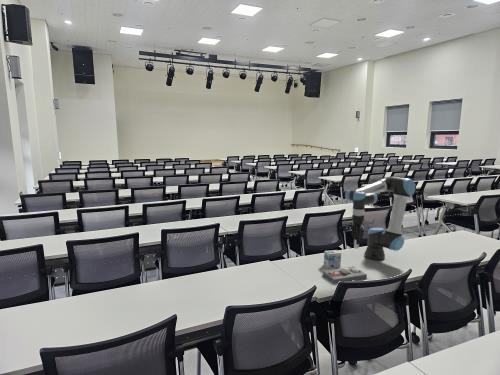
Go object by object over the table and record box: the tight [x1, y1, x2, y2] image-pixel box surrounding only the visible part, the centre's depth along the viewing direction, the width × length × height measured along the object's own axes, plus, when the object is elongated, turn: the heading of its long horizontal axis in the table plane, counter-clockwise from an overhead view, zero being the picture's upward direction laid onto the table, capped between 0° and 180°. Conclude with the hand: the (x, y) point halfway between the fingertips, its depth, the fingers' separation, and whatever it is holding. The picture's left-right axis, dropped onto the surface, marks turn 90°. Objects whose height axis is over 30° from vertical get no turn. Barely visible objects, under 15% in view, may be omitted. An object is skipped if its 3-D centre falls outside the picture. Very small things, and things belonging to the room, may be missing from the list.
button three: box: [330, 271, 338, 277], centre depth 218 cm, size 5×5×3 cm
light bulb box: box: [323, 249, 342, 269], centre depth 238 cm, size 11×7×11 cm, turn 105°
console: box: [322, 265, 368, 285], centre depth 220 cm, size 25×14×3 cm, turn 109°
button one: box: [351, 267, 360, 273], centre depth 223 cm, size 5×5×3 cm
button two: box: [340, 266, 349, 274], centre depth 220 cm, size 5×5×3 cm
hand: (356, 248), depth 222 cm, fingers closed
